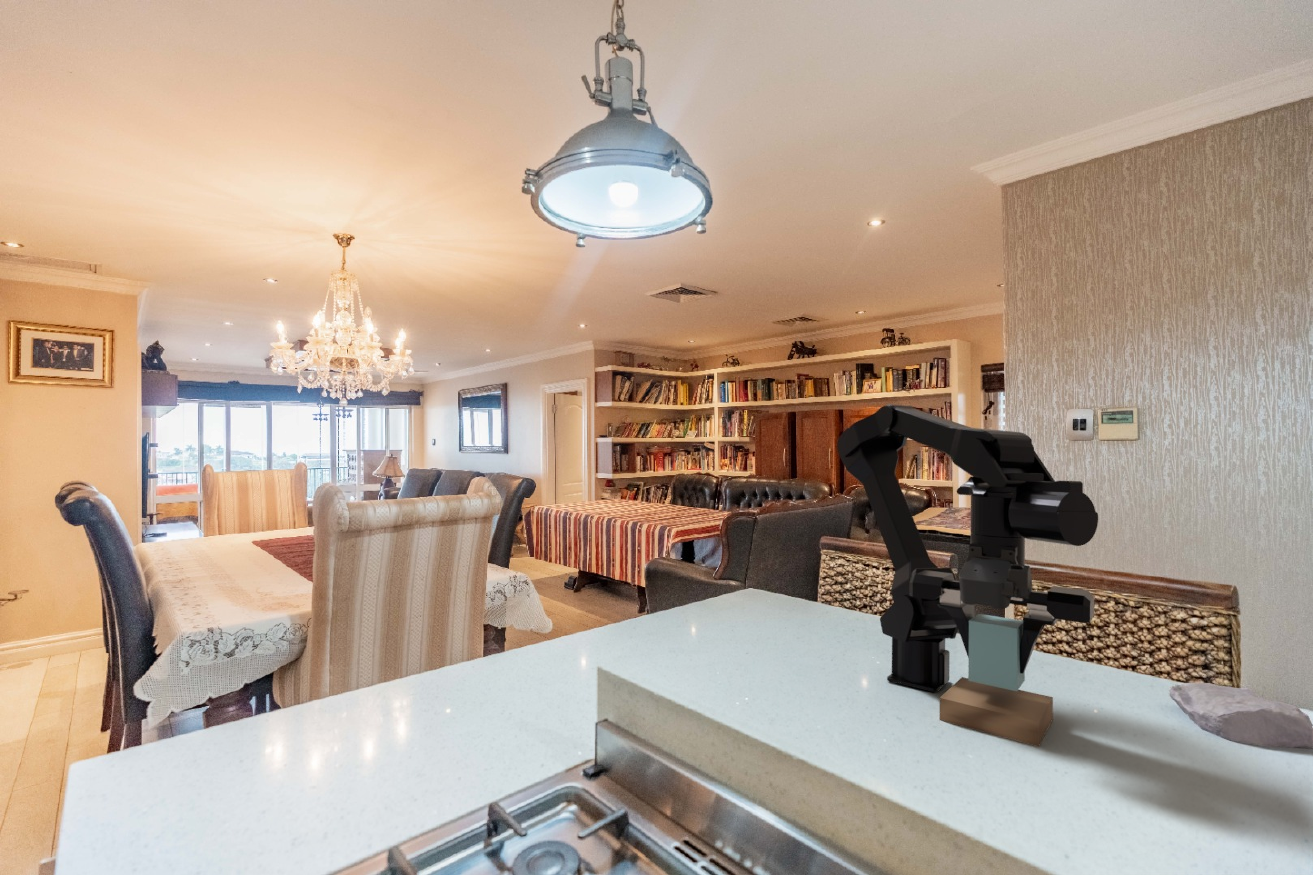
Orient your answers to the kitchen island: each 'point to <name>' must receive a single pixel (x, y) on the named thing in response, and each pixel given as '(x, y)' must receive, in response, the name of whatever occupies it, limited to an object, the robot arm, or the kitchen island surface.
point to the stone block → (1243, 715)
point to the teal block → (995, 651)
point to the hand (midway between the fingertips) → (996, 667)
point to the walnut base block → (998, 711)
